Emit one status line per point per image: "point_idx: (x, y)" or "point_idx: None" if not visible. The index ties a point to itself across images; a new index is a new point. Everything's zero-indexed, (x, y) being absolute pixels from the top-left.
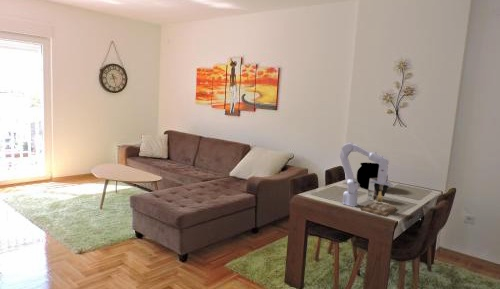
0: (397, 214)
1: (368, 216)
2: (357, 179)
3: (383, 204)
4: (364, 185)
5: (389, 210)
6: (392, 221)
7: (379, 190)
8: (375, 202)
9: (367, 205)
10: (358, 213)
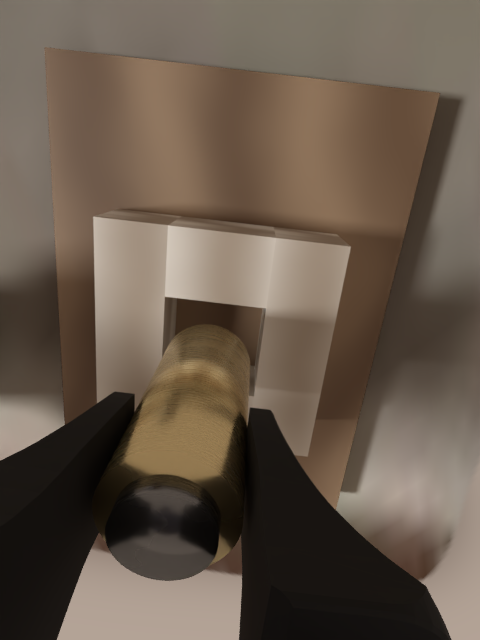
0: (452, 332)
1: (206, 569)
2: None
3: (274, 357)
4: None
5: (360, 346)
6: (418, 564)
7: (139, 557)
8: (146, 339)
9: (69, 333)
10: (107, 552)
